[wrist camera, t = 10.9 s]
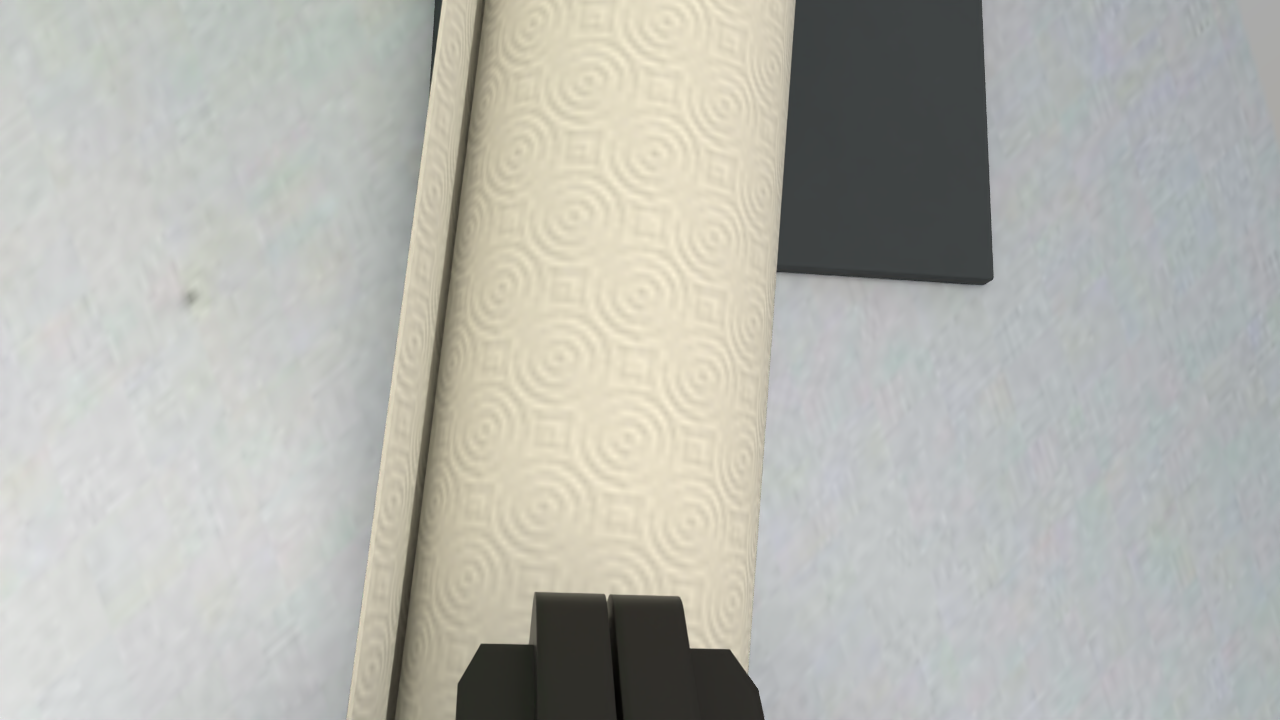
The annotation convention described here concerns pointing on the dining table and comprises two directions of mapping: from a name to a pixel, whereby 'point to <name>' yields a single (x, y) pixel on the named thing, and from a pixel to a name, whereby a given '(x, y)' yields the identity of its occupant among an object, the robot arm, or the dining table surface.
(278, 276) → the dining table surface
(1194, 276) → the dining table surface
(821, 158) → the mat
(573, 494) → the paper towel roll
